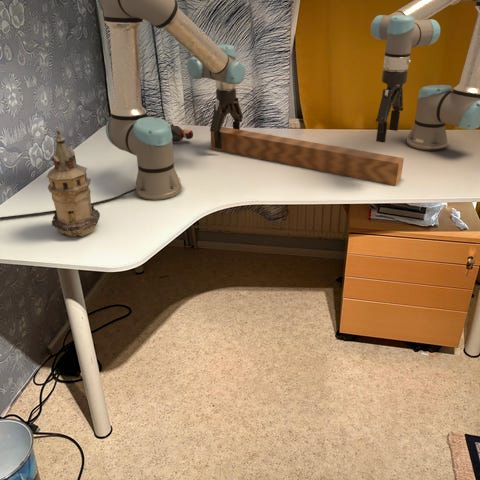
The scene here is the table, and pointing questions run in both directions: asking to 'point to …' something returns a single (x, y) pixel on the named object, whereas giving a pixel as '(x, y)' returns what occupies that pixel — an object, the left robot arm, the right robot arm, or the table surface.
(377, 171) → the beam
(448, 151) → the table surface
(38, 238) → the table surface
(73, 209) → the miniature building
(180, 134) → the toy
